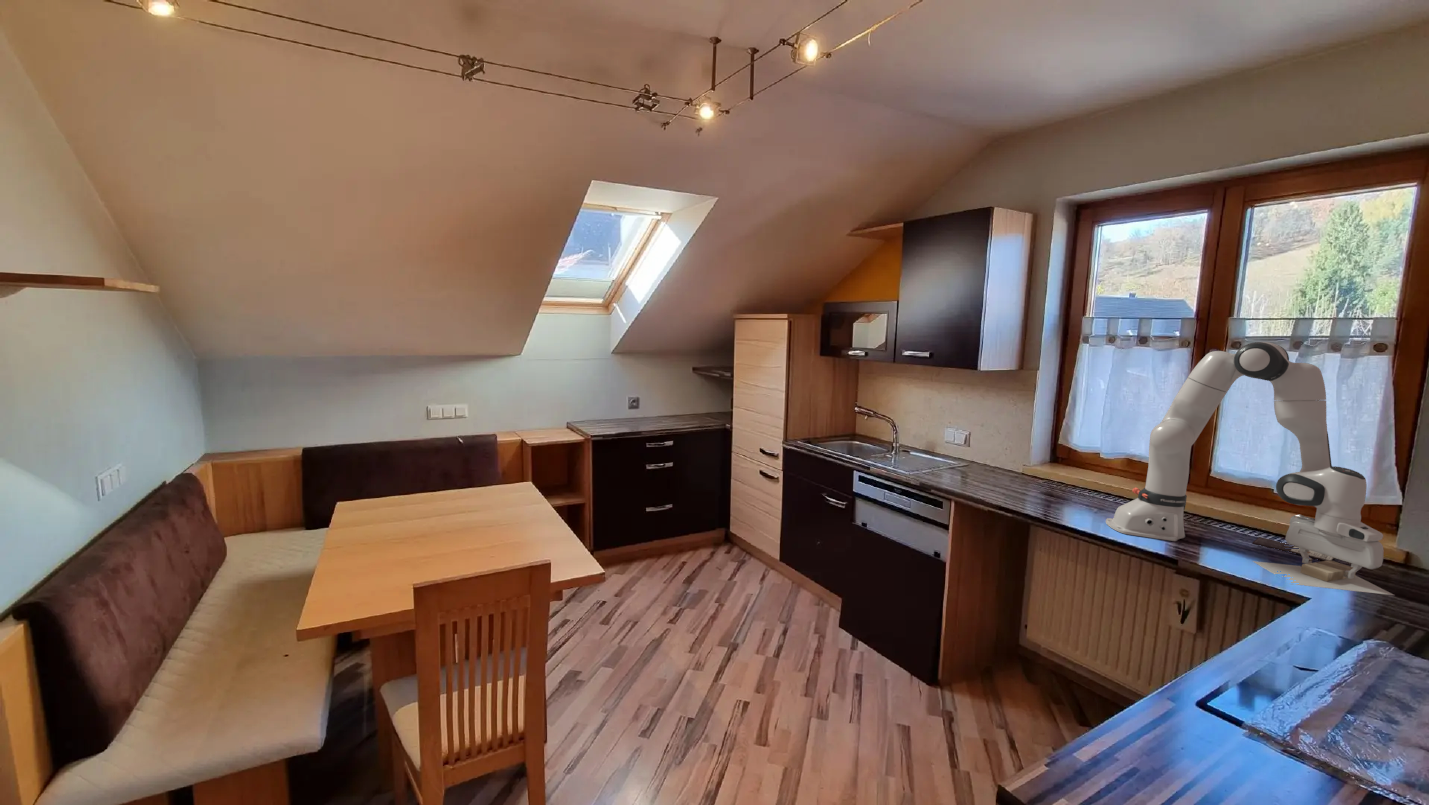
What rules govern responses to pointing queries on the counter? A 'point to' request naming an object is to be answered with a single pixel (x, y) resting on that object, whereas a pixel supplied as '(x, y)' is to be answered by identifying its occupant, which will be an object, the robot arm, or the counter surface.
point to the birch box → (1325, 570)
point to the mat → (1307, 580)
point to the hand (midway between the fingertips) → (1326, 570)
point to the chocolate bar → (1280, 546)
